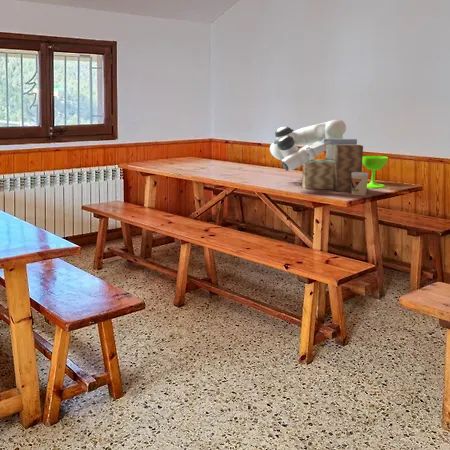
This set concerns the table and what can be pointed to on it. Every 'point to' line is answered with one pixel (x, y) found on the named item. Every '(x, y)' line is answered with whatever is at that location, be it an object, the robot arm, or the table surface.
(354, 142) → the batten
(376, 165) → the wineglass
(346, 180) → the tall brown box
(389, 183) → the table surface
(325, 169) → the zigzag patterned box
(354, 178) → the coffee cup
